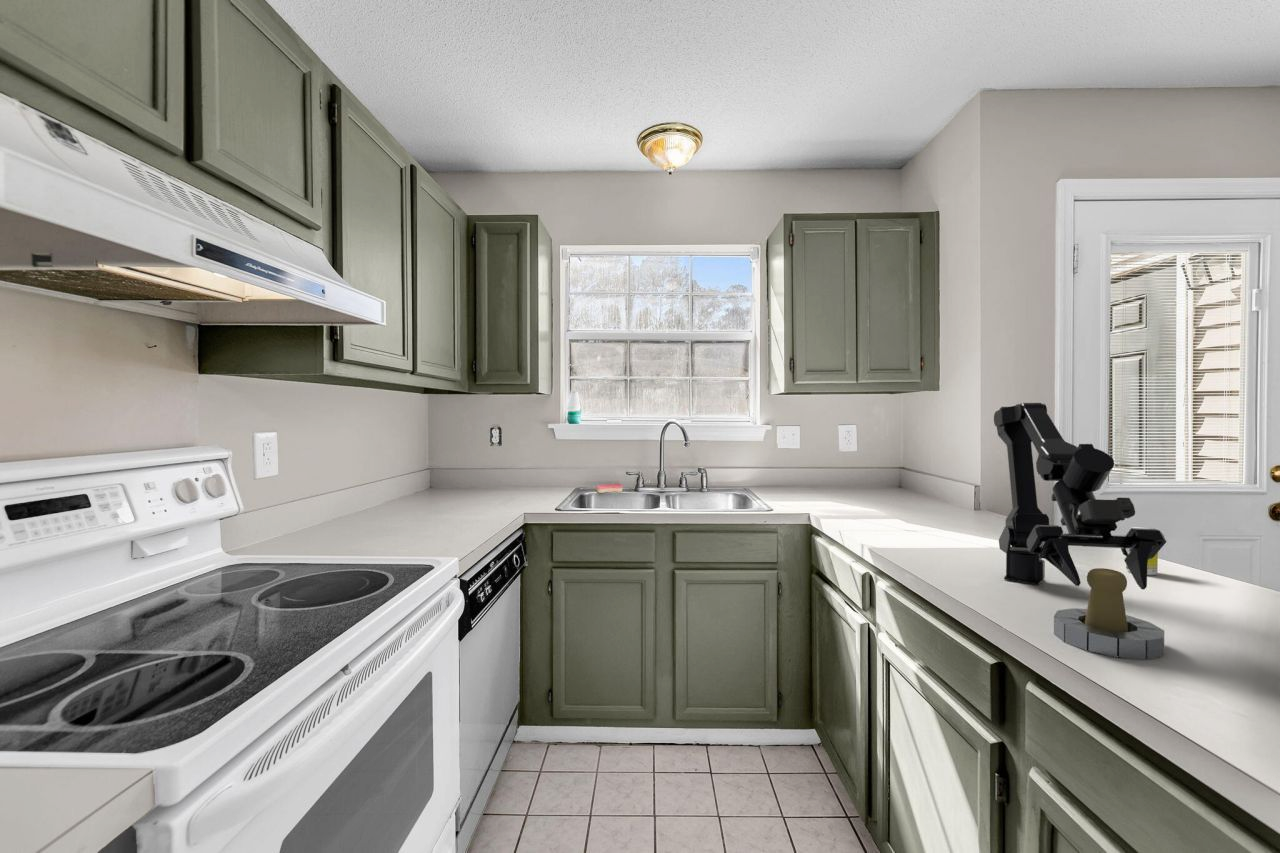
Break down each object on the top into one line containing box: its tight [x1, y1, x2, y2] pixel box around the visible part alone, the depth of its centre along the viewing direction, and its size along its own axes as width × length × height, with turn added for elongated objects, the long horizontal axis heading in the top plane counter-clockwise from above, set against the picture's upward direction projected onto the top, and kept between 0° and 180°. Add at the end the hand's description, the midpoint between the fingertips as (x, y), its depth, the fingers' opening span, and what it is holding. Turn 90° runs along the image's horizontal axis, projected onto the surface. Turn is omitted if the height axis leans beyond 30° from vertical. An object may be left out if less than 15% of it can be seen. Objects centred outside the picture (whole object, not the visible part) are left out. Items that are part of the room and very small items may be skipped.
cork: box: [1085, 567, 1128, 632], centre depth 96 cm, size 6×6×11 cm
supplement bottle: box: [1125, 526, 1159, 576], centre depth 135 cm, size 6×6×10 cm
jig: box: [1053, 607, 1166, 661], centre depth 96 cm, size 14×14×3 cm
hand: (1111, 586), depth 95 cm, fingers open, 9 cm apart
